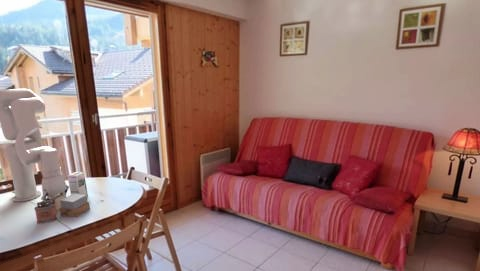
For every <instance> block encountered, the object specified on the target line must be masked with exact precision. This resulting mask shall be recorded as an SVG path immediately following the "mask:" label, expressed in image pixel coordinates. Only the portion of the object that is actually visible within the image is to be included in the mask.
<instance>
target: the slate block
mask: <svg viewBox="0 0 480 271" xmlns="http://www.w3.org/2000/svg"><path fill="white" fill-rule="evenodd" d="M87 202H88V197H87V195H82V194H75V193H74V194H72V195H71V194H70V195H67V196H66V198H64V199H61V200H60V203H61V208H66V209H73V210H75V209H76V208H78V207H80V206H82V205H84V204H86V203H87Z"/></svg>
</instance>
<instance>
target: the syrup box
mask: <svg viewBox="0 0 480 271" xmlns="http://www.w3.org/2000/svg"><path fill="white" fill-rule="evenodd" d="M67 181H68V186H69V191H70V195H72V194H74V193H75V194H82V195H87V198H88V196H89V194H88V189H87V188H88V187H87V183H86V176H85V172H84V171H74V172H73V173H70V174H68V175H67Z"/></svg>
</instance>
